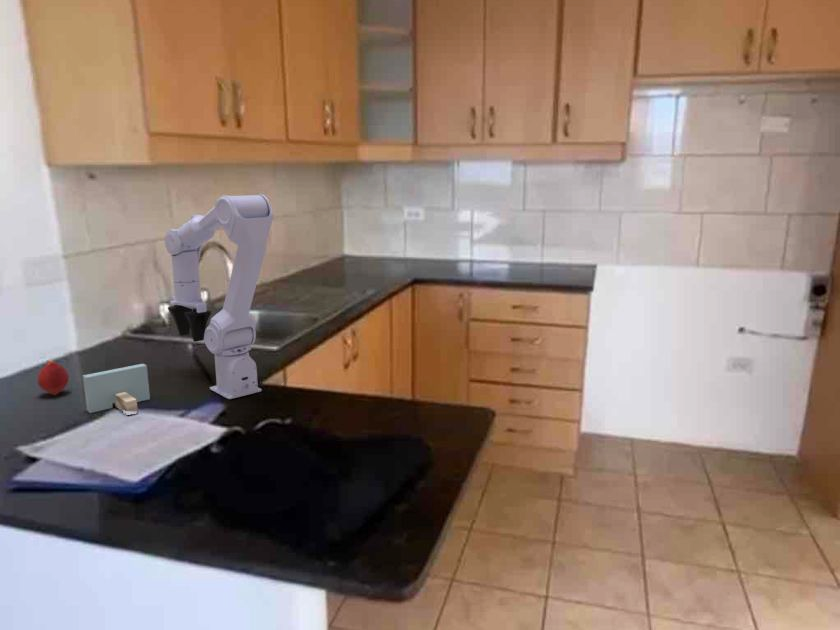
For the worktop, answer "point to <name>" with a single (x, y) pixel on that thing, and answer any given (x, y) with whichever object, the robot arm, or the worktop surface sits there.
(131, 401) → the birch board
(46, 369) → the onion
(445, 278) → the worktop surface
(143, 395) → the teal plate
